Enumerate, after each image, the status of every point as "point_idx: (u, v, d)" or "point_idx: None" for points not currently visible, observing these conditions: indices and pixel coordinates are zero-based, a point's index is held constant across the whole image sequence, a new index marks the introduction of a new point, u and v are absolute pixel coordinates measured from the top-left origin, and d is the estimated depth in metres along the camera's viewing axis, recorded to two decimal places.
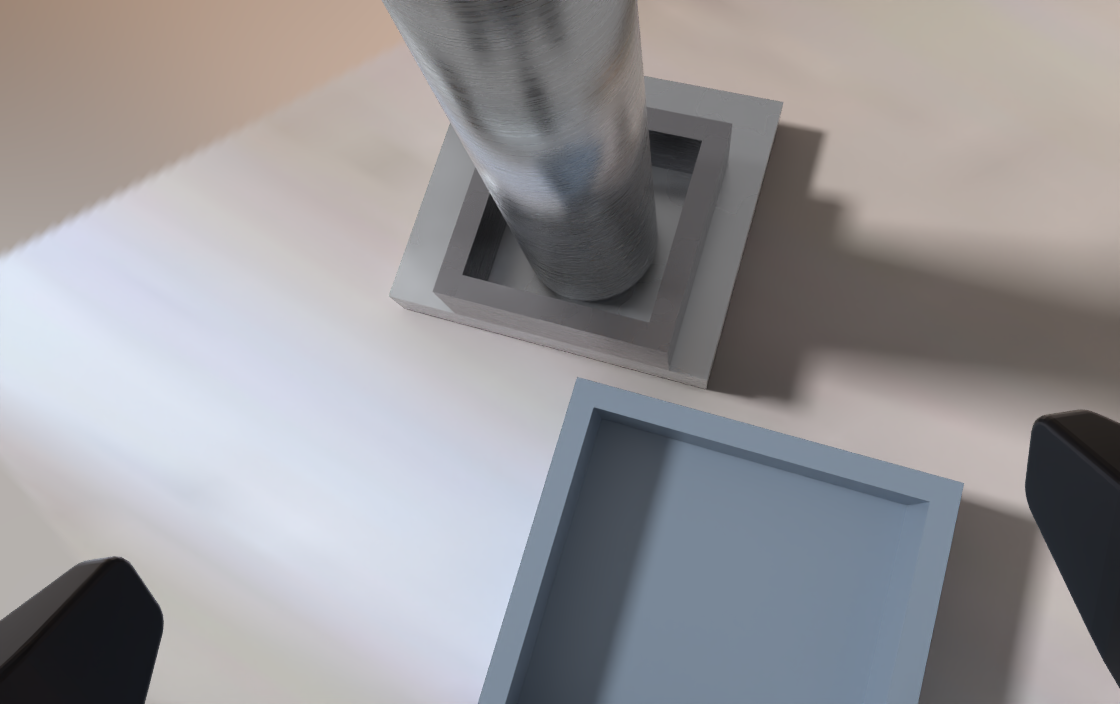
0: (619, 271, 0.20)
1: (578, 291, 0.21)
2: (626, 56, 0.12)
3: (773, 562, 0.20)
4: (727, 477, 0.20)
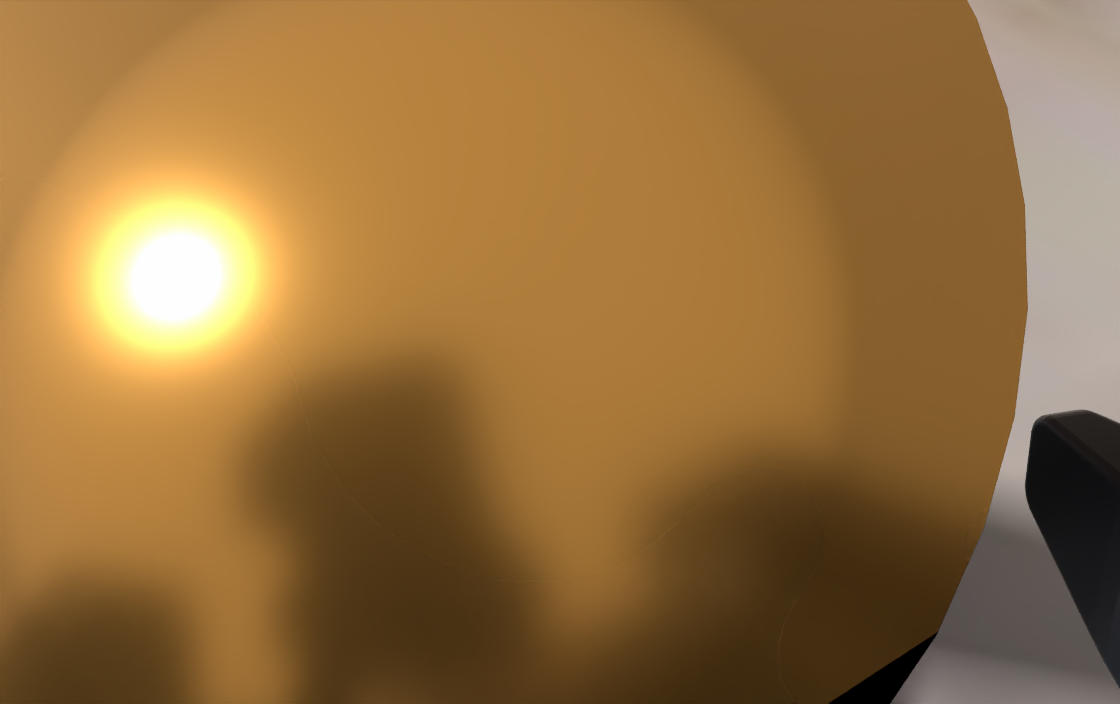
0: None
1: None
2: None
3: None
4: None
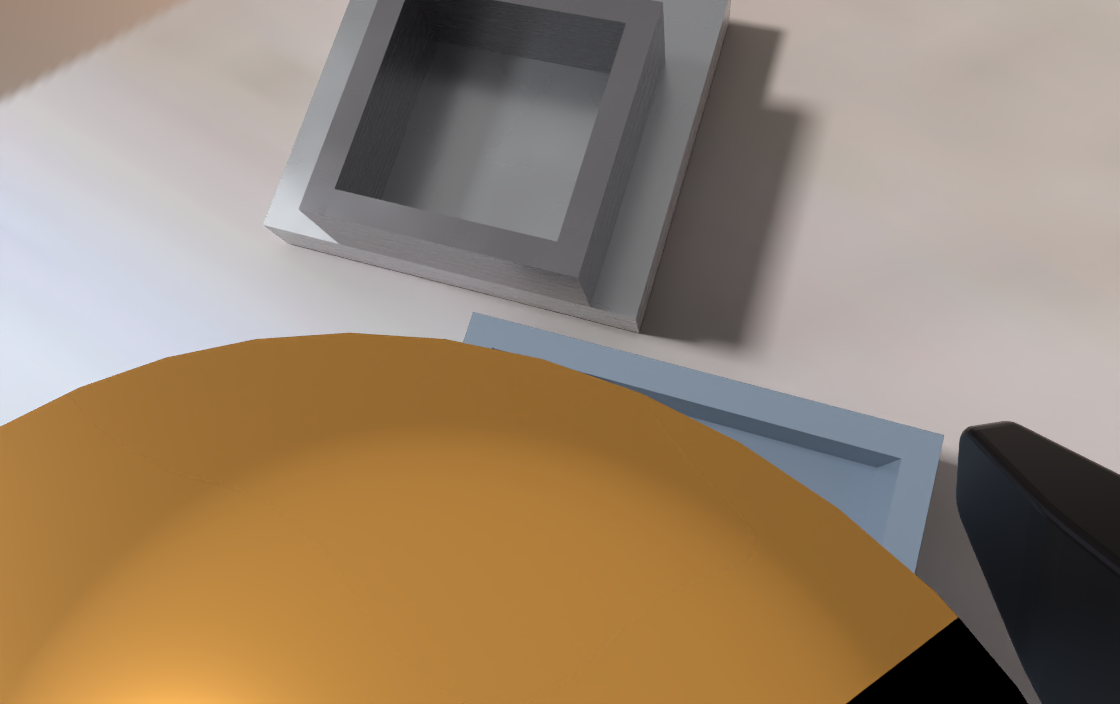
0: None
1: None
2: None
3: None
4: None
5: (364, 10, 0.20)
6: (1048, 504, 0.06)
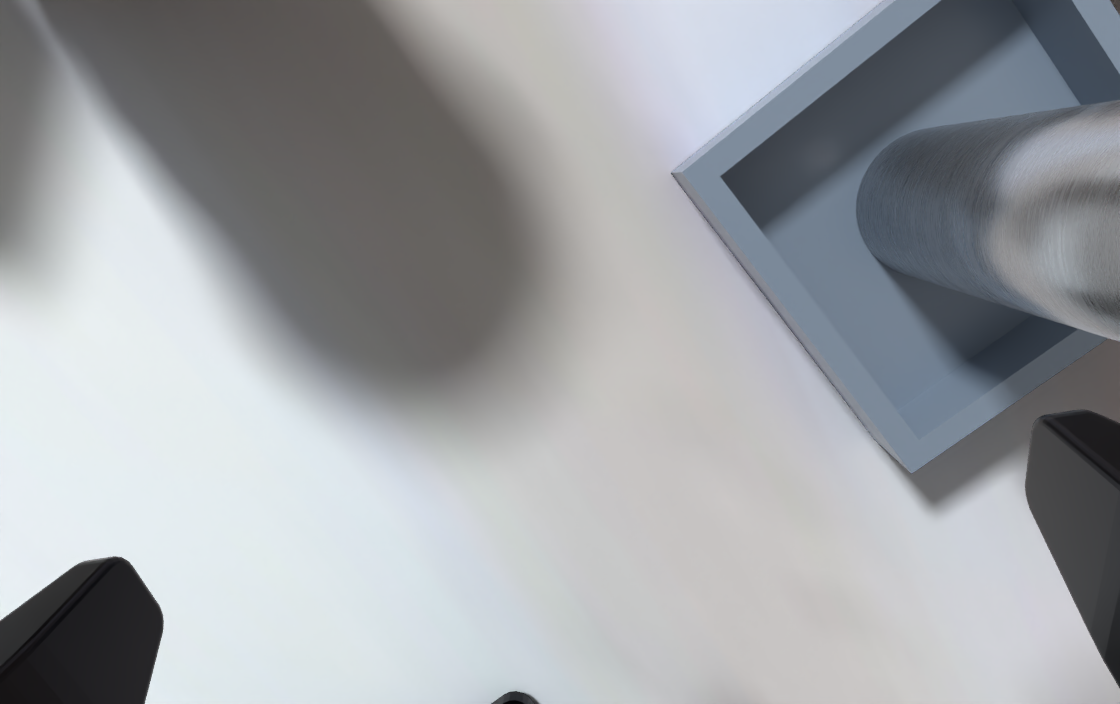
0: None
1: (888, 261, 0.19)
2: None
3: None
4: (1043, 97, 0.19)
5: None
6: None
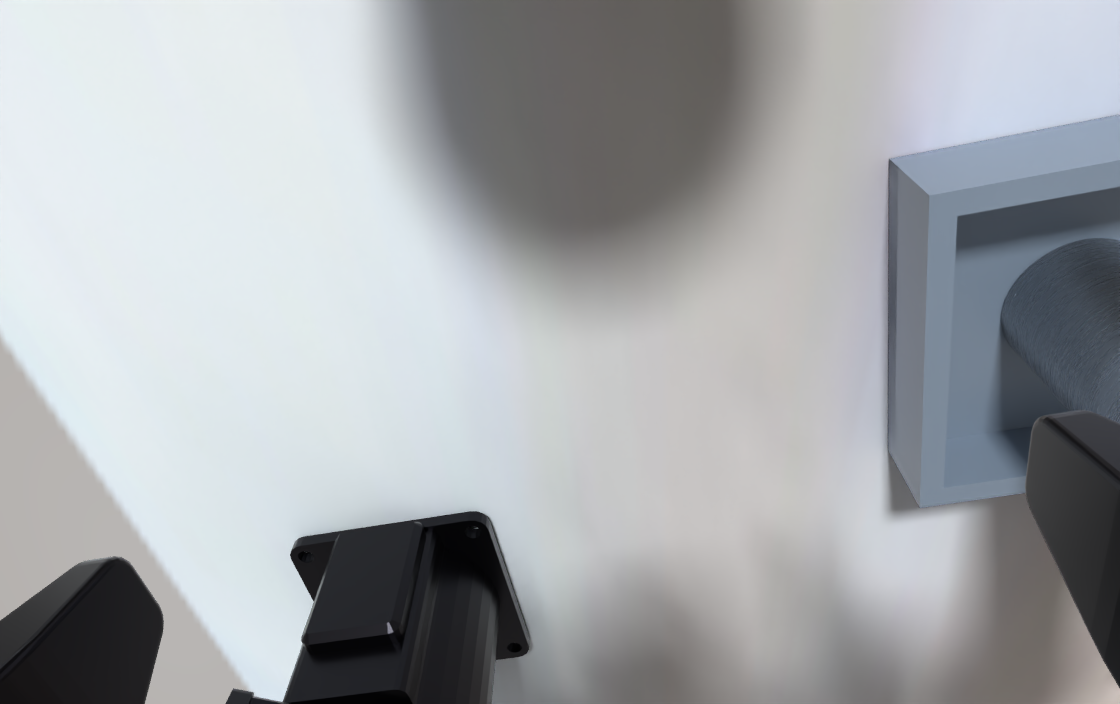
0: (1048, 387, 0.20)
1: (1015, 340, 0.20)
2: None
3: None
4: None
5: None
6: None
